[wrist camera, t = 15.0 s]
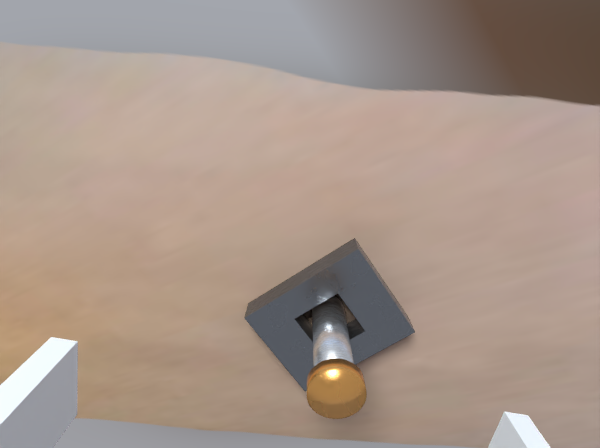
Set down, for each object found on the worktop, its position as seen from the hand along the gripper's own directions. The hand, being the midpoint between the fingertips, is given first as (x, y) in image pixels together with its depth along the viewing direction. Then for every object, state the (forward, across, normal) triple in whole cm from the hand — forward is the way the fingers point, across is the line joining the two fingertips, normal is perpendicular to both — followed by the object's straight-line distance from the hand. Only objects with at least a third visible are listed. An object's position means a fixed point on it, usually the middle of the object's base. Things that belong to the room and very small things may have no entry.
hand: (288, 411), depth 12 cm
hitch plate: (+29, +6, -13) cm, 32 cm away
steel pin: (+29, +6, -13) cm, 32 cm away
